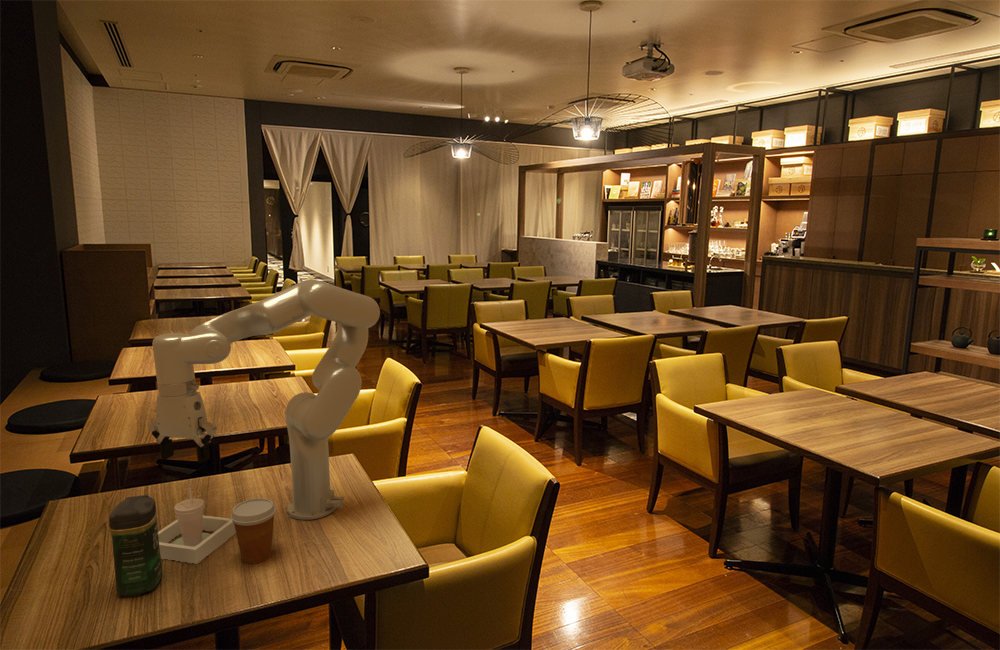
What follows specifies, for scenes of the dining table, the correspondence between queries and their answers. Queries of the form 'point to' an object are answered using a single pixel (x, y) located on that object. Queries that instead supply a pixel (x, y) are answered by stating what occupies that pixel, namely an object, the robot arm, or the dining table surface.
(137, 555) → the coffee jar
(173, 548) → the white square frame
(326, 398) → the robot arm
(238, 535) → the disposable coffee cup
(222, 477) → the dining table surface
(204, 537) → the pale green round spot
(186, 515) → the smoothie
